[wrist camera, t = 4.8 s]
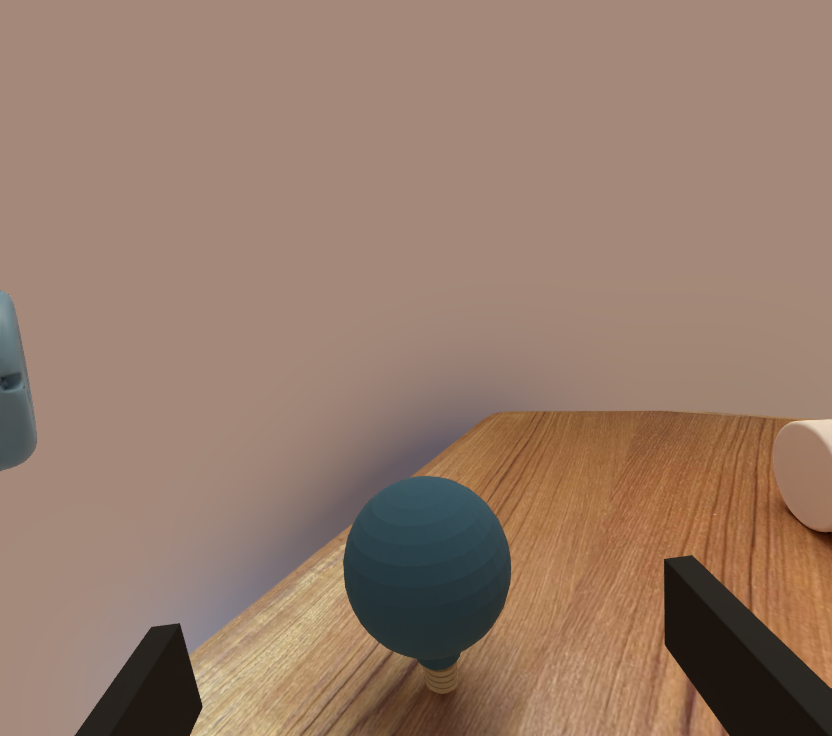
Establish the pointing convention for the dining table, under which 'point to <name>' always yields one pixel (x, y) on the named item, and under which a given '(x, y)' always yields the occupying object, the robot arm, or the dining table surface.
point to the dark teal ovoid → (427, 572)
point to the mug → (806, 471)
